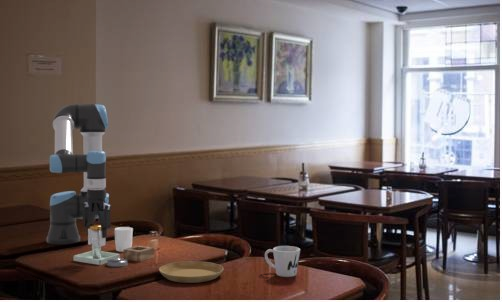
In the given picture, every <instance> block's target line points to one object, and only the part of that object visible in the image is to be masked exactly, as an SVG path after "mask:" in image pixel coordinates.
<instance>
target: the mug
mask: <svg viewBox="0 0 502 302" xmlns="http://www.w3.org/2000/svg"><path fill="white" fill-rule="evenodd" d="M269 253H273V260H274V264H273V263H272V262H271V261H270V259H269V257H268V254H269ZM300 254H301V248H299V247H297V246H292V245H291V246H290V245H278V246H275V247H273V249H271V248H269V249H267V250H266V251H265V252H264V259H265V261H266V263H267V264H268V266H270V267H271V268H272V269H275V273H276V276H279V277H282V278H283V277H284V278H292V277H295V276H297V272H298V265H299V260H300Z"/></svg>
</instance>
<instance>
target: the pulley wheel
mask: <svg viewBox="0 0 502 302" xmlns="http://www.w3.org/2000/svg"><path fill="white" fill-rule="evenodd" d="M128 262H129V260H127V259H123V258H121V257H120V258H115V259H110V260H108V261H107V263H106V265H107V267H110V268H123V267H126V266H128V265H129V264H128Z"/></svg>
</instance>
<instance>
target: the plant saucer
mask: <svg viewBox="0 0 502 302" xmlns="http://www.w3.org/2000/svg"><path fill="white" fill-rule="evenodd" d="M158 270H159V273H160V274H161V275H162V277H163V278H164V279H166V280H169V281H171V282H176V283H182V284H183V283H184V284H188V283H189V284H197V283H205V282H211V281H213V280H215V279H216V278H218V277H219V276H220V275H221V274H222V273H223V271H224V267H223V265H221V264H218V263H215V262H210V261H195V260H193V261H191V260H189V261H186V260H185V261H176V262H175V261H174V262H169V263H166V264H164V265H162V266H160V267H159V268H158Z"/></svg>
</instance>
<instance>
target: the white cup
mask: <svg viewBox="0 0 502 302" xmlns="http://www.w3.org/2000/svg"><path fill="white" fill-rule="evenodd" d="M133 231H134V228H133V227H130V226H120V227H119V226H118V227H115V228H114V242H115V251H116V252H123V249H127V248H130V247H133Z"/></svg>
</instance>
